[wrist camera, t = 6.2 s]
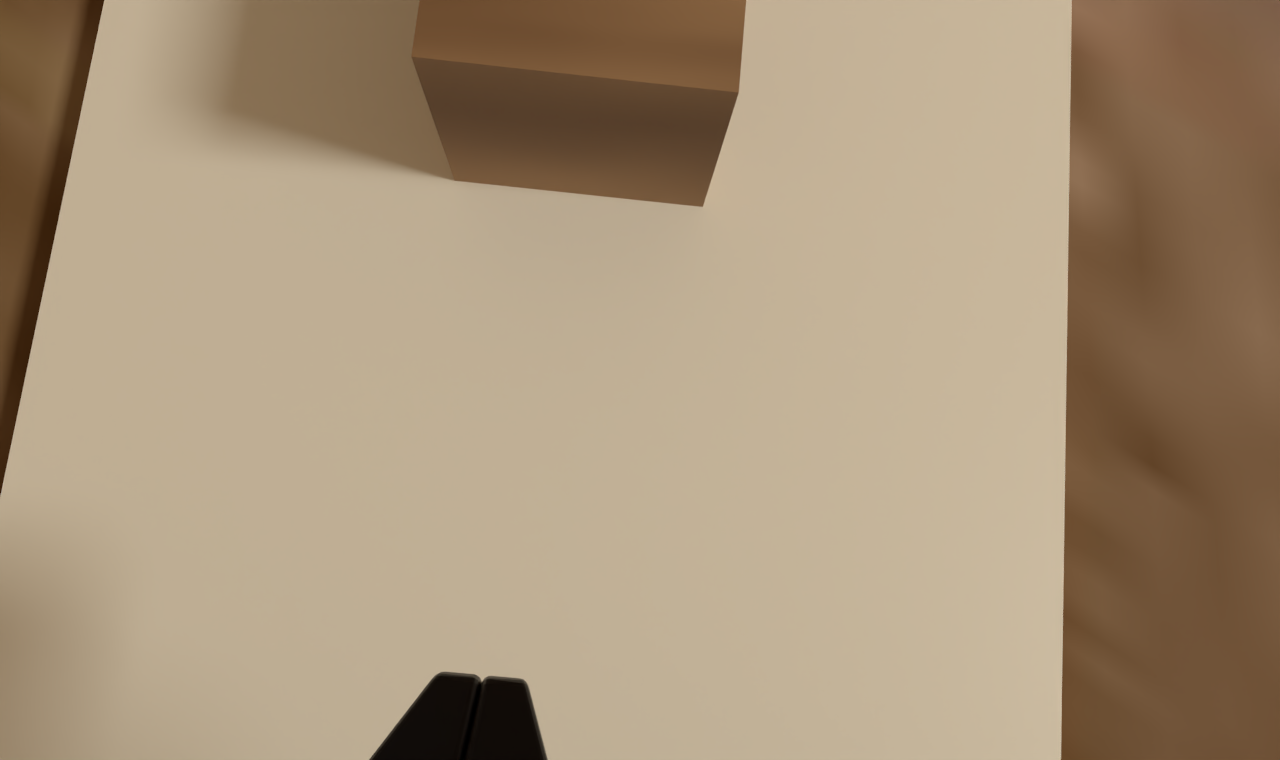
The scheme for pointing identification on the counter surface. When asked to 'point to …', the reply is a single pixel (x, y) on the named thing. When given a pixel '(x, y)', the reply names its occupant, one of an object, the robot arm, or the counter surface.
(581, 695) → the cutting board
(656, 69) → the walnut block
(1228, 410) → the counter surface
